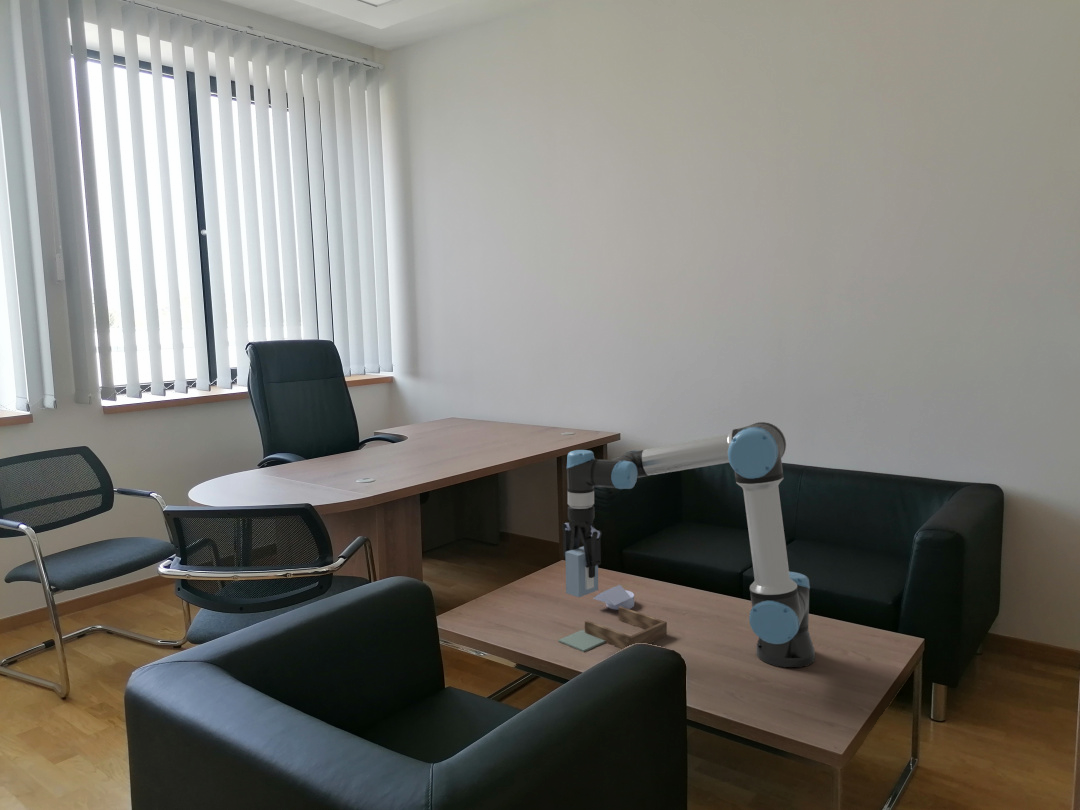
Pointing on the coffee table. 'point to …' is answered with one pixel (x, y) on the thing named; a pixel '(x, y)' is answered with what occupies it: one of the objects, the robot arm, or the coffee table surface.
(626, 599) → the wedge on round base
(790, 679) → the coffee table surface
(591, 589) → the block
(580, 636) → the felt pad
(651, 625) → the shelf bay
